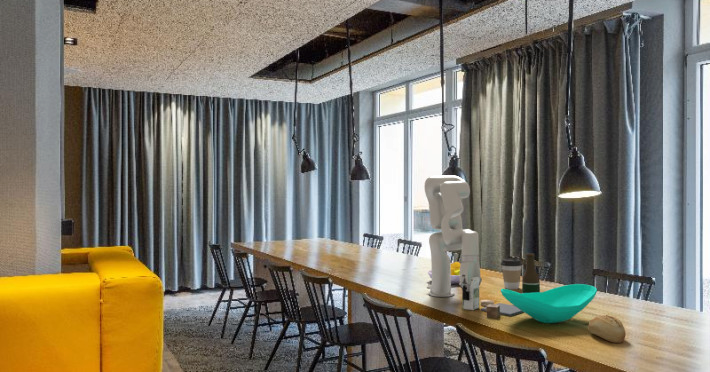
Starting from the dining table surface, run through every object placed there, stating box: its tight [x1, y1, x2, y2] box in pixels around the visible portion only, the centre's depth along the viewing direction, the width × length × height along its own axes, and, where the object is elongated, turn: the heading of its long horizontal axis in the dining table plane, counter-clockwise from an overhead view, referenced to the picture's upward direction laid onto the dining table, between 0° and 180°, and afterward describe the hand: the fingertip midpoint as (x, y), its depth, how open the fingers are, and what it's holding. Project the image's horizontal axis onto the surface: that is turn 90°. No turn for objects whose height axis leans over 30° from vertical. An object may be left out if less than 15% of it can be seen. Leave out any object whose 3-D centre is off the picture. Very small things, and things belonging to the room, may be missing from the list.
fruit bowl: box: [427, 261, 461, 285], centre depth 316 cm, size 28×27×11 cm
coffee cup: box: [500, 258, 523, 290], centre depth 296 cm, size 11×11×15 cm
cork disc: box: [479, 299, 495, 307], centre depth 257 cm, size 6×6×2 cm
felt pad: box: [480, 302, 524, 317], centre depth 245 cm, size 15×15×1 cm
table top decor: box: [500, 283, 598, 324], centre depth 225 cm, size 40×28×13 cm
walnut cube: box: [485, 304, 501, 319], centre depth 235 cm, size 4×4×4 cm
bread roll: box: [587, 314, 627, 344], centre depth 200 cm, size 10×15×8 cm, turn 17°
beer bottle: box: [521, 252, 541, 293], centre depth 252 cm, size 8×8×24 cm
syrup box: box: [461, 277, 480, 311], centre depth 250 cm, size 6×6×14 cm
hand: (470, 298), depth 250 cm, fingers closed on syrup box, 6 cm apart
